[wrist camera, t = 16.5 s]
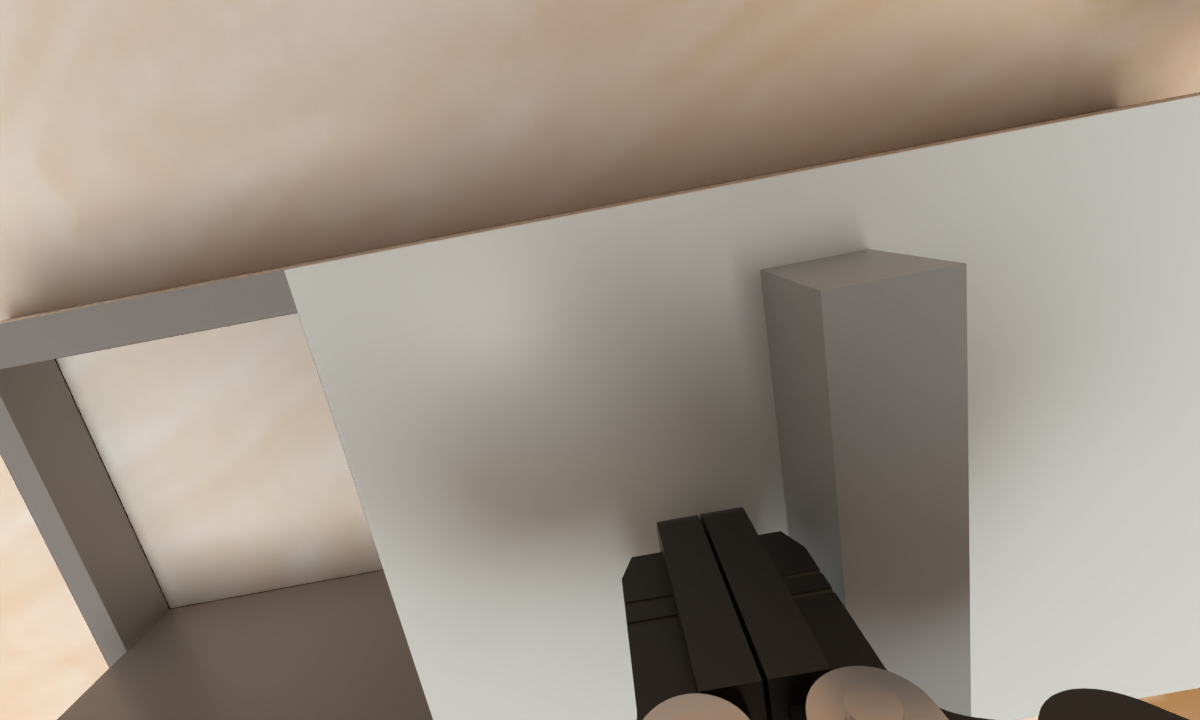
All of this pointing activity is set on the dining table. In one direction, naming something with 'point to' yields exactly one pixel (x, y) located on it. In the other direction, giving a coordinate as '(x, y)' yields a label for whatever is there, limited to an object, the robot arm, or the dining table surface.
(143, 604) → the frame
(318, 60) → the dining table surface
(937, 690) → the lid
